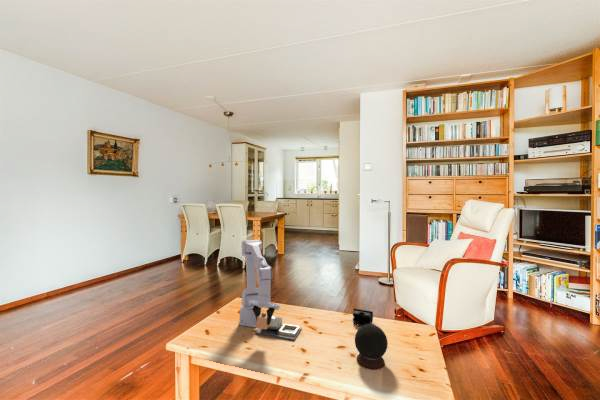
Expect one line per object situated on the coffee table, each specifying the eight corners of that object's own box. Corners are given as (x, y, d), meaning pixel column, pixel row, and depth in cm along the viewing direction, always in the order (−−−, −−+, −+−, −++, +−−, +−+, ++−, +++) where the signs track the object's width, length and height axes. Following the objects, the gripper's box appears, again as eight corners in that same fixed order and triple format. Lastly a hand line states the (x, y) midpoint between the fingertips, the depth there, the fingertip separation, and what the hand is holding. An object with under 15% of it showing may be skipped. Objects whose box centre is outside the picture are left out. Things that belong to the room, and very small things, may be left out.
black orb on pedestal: (386, 355, 124) (387, 321, 123) (387, 374, 111) (388, 335, 111) (355, 350, 127) (356, 317, 127) (352, 367, 115) (353, 330, 114)
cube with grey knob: (257, 327, 130) (257, 314, 130) (261, 323, 135) (261, 311, 135) (266, 329, 129) (266, 316, 129) (270, 325, 133) (270, 312, 133)
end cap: (373, 322, 157) (373, 309, 157) (370, 327, 150) (371, 314, 150) (354, 318, 161) (354, 306, 160) (351, 323, 154) (352, 311, 154)
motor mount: (255, 334, 141) (255, 320, 141) (265, 323, 152) (265, 310, 152) (294, 340, 135) (294, 326, 135) (301, 329, 146) (301, 315, 146)
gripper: (245, 294, 130) (245, 324, 130) (275, 298, 126) (275, 329, 126) (252, 289, 137) (252, 318, 137) (281, 293, 133) (280, 322, 133)
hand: (263, 323), depth 132 cm, fingers closed on cube with grey knob, 4 cm apart
